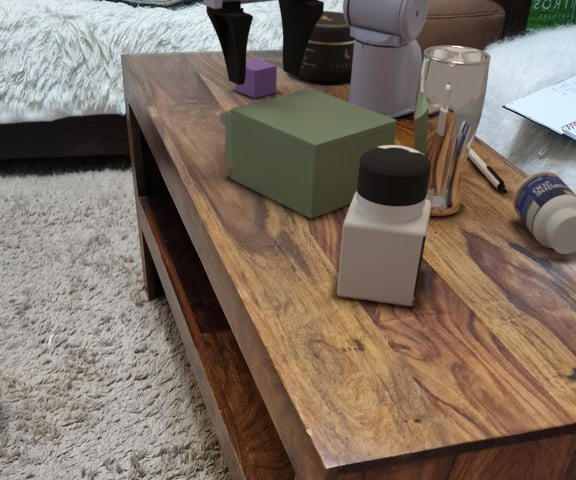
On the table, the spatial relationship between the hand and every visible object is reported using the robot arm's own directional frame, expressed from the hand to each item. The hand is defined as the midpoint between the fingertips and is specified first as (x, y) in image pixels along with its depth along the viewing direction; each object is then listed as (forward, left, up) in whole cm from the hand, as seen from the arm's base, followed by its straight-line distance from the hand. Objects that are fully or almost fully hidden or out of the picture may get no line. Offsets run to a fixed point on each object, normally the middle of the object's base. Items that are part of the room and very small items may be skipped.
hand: (264, 77), depth 86 cm
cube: (-17, -21, -10) cm, 29 cm away
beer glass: (-7, +20, -10) cm, 24 cm away
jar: (-31, -21, -10) cm, 39 cm away
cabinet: (0, +8, -10) cm, 12 cm away
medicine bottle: (+11, +29, -10) cm, 32 cm away
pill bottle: (-14, +29, -7) cm, 33 cm away
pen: (-21, +16, -10) cm, 28 cm away
